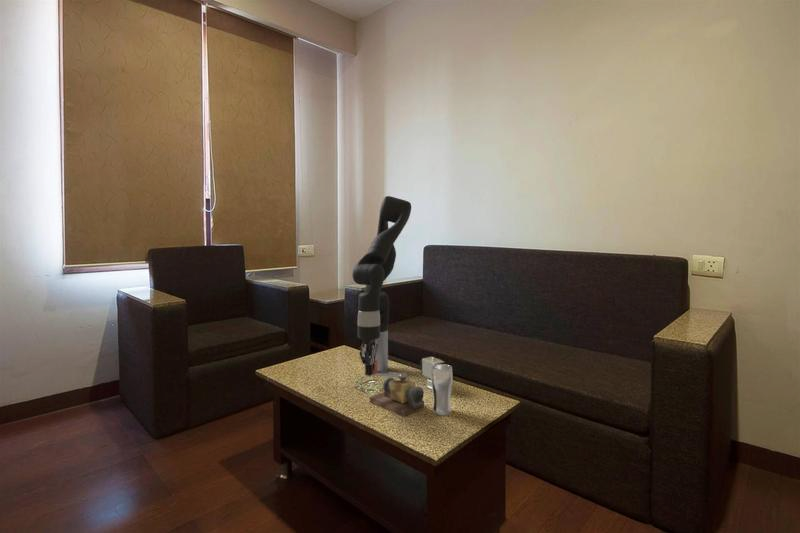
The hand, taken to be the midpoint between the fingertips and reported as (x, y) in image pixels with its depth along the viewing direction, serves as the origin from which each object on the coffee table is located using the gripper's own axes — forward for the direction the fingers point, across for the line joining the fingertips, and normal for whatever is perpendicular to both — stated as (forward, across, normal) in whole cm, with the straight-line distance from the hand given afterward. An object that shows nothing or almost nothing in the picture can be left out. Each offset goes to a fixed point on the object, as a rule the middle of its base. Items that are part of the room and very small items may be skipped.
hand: (369, 374), depth 143 cm
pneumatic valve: (+11, +22, -18) cm, 31 cm away
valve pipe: (+11, +4, -9) cm, 15 cm away
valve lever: (+1, +4, -5) cm, 7 cm away
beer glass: (+12, +3, -24) cm, 27 cm away
